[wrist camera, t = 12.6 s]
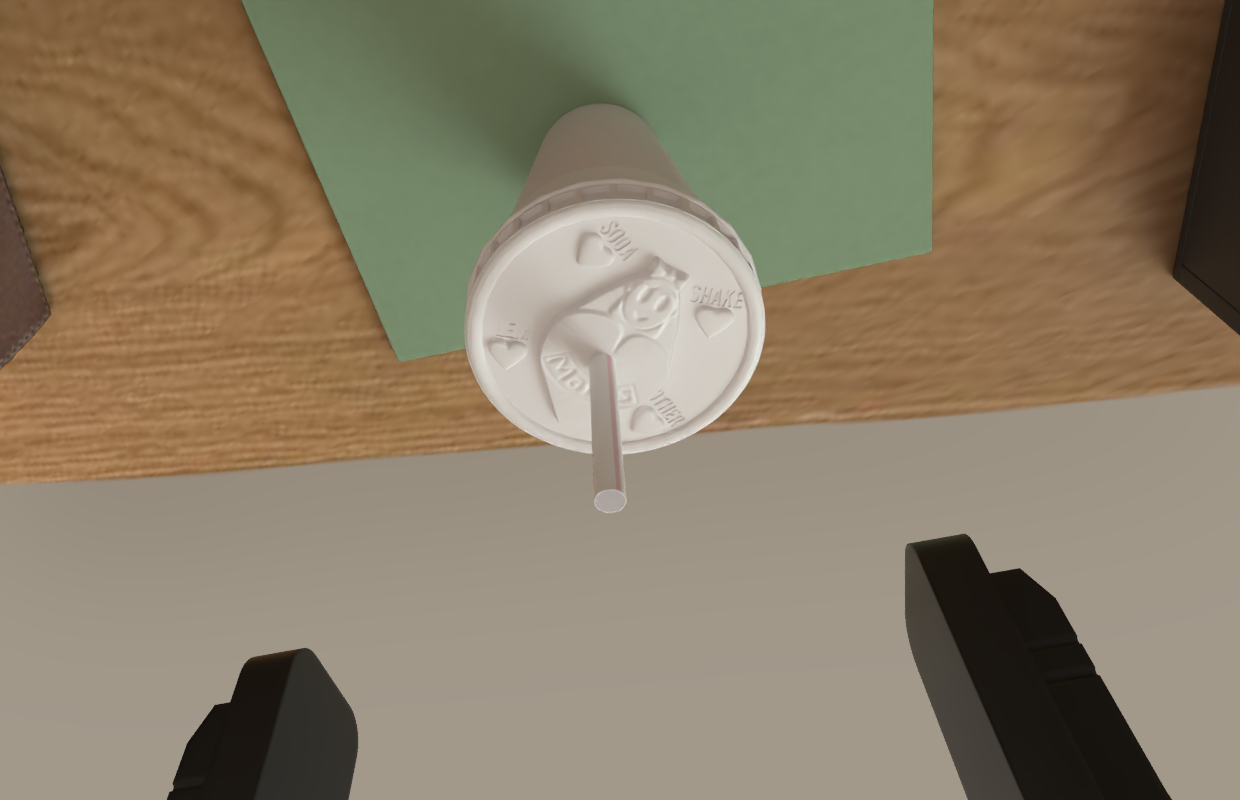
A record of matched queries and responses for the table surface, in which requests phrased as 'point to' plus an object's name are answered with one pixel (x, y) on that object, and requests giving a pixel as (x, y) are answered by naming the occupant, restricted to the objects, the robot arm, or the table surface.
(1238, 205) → the dark gray open box
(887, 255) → the mat
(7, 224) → the letter holder
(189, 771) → the robot arm
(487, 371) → the smoothie
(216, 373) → the table surface
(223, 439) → the table surface
